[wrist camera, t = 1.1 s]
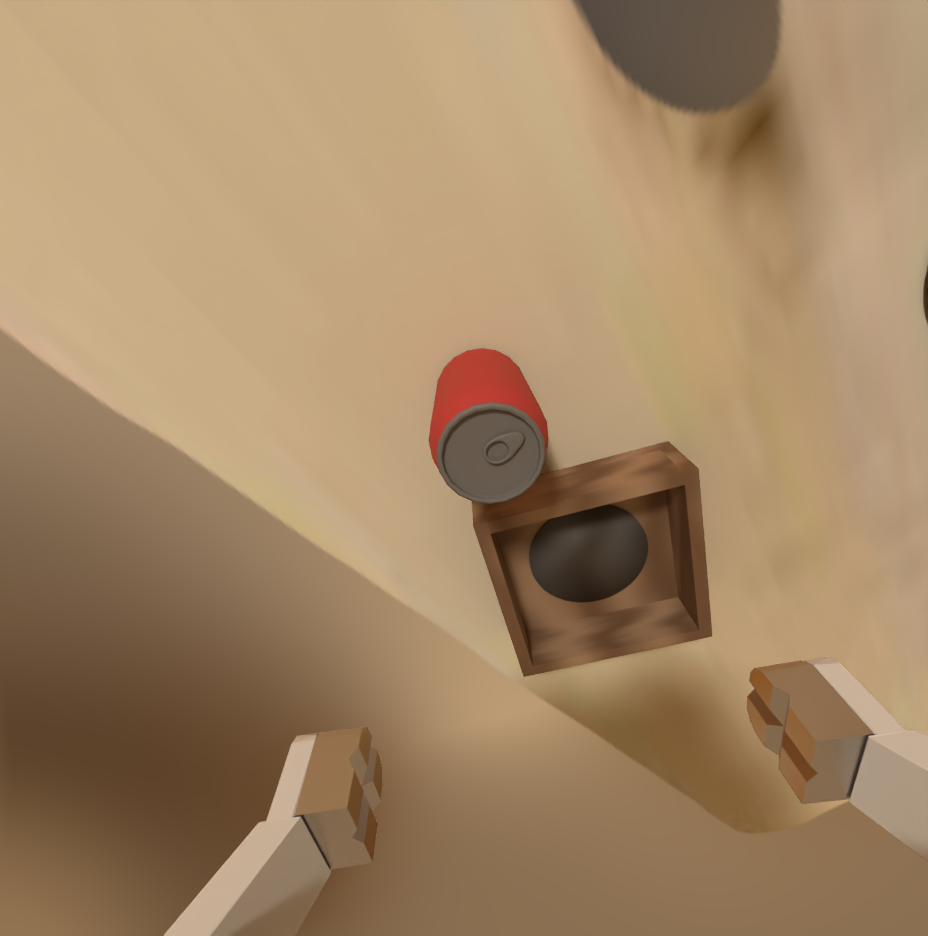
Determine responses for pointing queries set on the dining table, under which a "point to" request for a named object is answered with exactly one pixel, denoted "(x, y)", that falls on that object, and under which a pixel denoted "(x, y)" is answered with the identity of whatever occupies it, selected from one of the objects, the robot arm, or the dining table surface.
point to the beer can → (487, 428)
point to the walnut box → (600, 559)
